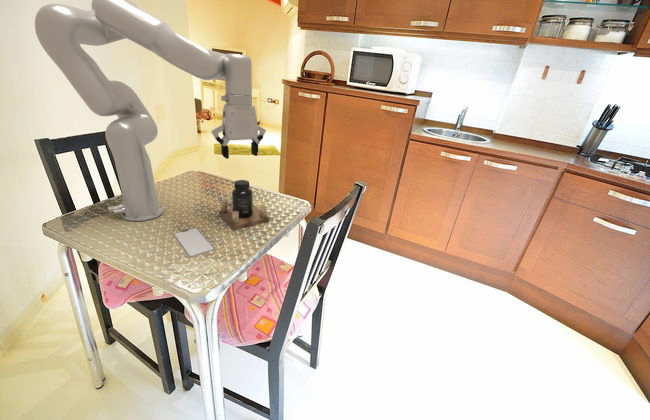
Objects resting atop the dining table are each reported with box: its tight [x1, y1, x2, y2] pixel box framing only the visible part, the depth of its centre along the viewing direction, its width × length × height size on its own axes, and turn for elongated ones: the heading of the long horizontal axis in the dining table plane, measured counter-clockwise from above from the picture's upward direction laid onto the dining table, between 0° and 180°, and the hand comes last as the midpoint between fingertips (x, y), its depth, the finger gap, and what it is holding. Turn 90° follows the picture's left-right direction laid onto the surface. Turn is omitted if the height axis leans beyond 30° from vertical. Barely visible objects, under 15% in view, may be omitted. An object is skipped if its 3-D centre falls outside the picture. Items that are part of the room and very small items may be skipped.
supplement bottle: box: [231, 179, 254, 218], centre depth 101 cm, size 7×7×12 cm
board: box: [218, 199, 270, 231], centre depth 103 cm, size 13×13×6 cm
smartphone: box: [173, 227, 215, 258], centre depth 88 cm, size 7×1×15 cm
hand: (240, 156), depth 95 cm, fingers open, 9 cm apart
